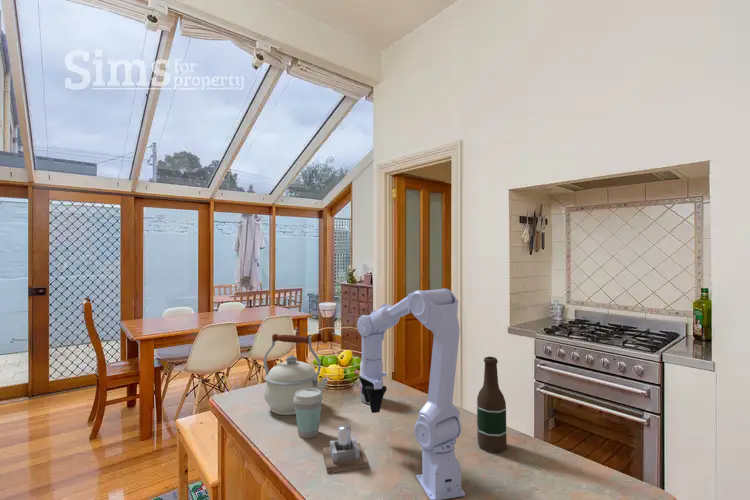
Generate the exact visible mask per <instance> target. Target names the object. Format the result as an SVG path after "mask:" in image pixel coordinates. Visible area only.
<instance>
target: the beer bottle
mask: <svg viewBox="0 0 750 500" xmlns="http://www.w3.org/2000/svg"><path fill="white" fill-rule="evenodd" d="M483 362H484V369H483V370H484V373H483V375H484V376H483V383H482V384H483V385H482V387H481V389H479V392H478V395H477V398H476V422H477V423H476V425H477V426H476V431H477V433H476V435H477V436H476V437H477V444H478V447H479V449H481V450H483V451H485V452H486V453H494V454H499V453H501V452H504V451H506V449H507V406H506V405H507V404H506V399H505V397H504V394H503V392H502V390H501V389H500V385H499V376H498V363H499V361H498V358H497V357H495V356H486V357H485V356H484V359H483Z"/></svg>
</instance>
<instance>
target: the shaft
mask: <svg viewBox="0 0 750 500" xmlns="http://www.w3.org/2000/svg"><path fill="white" fill-rule="evenodd" d="M337 430H338V431H337V432H338V433H337V434H338V435H337V440H338V451H340V450H348V449H351V438H352V436H351V435H352V433H351V431H352V429H351V425H350V424H340V425H338V427H337Z"/></svg>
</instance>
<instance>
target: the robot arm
mask: <svg viewBox="0 0 750 500" xmlns="http://www.w3.org/2000/svg"><path fill="white" fill-rule="evenodd" d="M458 307H459V300H458V299H457V297H456V296H455V293H453V292H452V290H450V289H448V288H439V289H427V290H421V289H420V290H419V289H418V290H415V291H413V292H411V293H408V294H407V296H406V297H404V298H403V299H401V300H400V301H398V302H396V304H394V305H391V304H387V303H384V304H382V305H380V308H379V309H377V310H373V311H371V312H370V314H368V315H365V314H363V315H360V317H358V319H357V322H356V323H357V324H356V326H357V331H358V333H359V335H360V336H361V361H362V373H361V376H358V380H359V383H360V382H361V384H362V387H363V392H364V397H365V401H366V403H365V404H367V402H370V404H369V407H370V411H371V414H374V413H375V414H377V413H380V411H381V407H382V403H383V400H384V395H385V393H386V392H387V390H388V389H387V386H386V385H383V386H382V378H383V379H384V377H386V376H387V372H386V371H383V372H382V362H383V341H384V339H385V333H386V331H387V330H388V329H391V328H392V327H394V326H396V325H397V324H398V323H399V321H400V318H402V317H404V316H407V315H409V314H412V315H413V316H414V317H415V318H416V319H417V320H418V321H419V322H420V323H421V325H423V326H424V327H425V328H426V329H427V330H429V331H431V333H432V334H433V339H432V340H433V341H432V351H431V361H430V362H431V364H430V369H429V370H430V372H429V382H428V391H427V392H428V393H427V401H426V402H425V404H424V405H423V407H422V408H421V409H420V410H419V412H418V418H417V420H416V422H415V425H414V436H415V439H416V441H417V443H418V444H419V447H421V451H422V452H421V453H422V454H421V461H422V462H421V464H422V465H421V466H422V469H421V470H422V472H421V474H416V479H417V481H418V482H419V484H420V486H421V487H422V489H423V491H424V493H425V494H426V495H427V497H428V499H429V500H448V499H455V498H462V497H465V496H466V492H465V491H464V490H463V489H462V468H461V467H462V466H461V464H460V463H459V461H458V460H457V459H458V458H457V457H456V452H455V445H456V444H457V439H458V438H459V437H460V436H461V434H462V424H461V420H460V414H461V413H460V409H458V407H457V406H456V405H454V404H453V403H454V402H453V398H454V391H455V381H456V369H457V362H458V353H459V352H458V351H459V341H460V331H461V330H460V324H459V318H458V310H459V309H458ZM382 399H383V400H382Z"/></svg>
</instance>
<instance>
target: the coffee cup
mask: <svg viewBox="0 0 750 500" xmlns="http://www.w3.org/2000/svg"><path fill="white" fill-rule="evenodd" d="M323 400H324V397H323V394H322V392H321V391H320V390H318V389H313V388H308V389H302V390H299V391H297V392H296V393H295V396H294V400H293V401H294V402H295V410H296V414H295V417H296V426H297V435H298V437H300V438H303V439H311V438H315V437H316V436H318V435H319V431H320V430H319V429H320V420H321V419H320V418H321V410H322V401H323Z"/></svg>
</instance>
